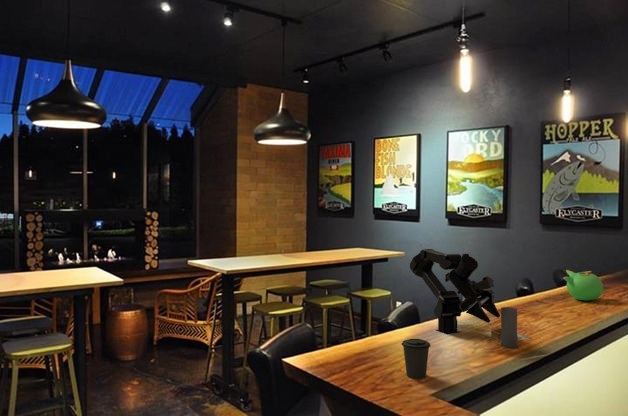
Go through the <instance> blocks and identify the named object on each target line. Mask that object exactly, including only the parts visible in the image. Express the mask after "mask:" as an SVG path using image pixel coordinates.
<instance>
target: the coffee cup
mask: <svg viewBox="0 0 628 416" xmlns="http://www.w3.org/2000/svg"><path fill="white" fill-rule="evenodd" d="M401 346H402V347H403V354H404V364H405V370H406V371H405V372H406V374H405V375H406V377H408V378H409V379H415V380H422V379H425V378H426V377H427V369H428V357H429V350H430V347H431V343H430V342H429V341H427V340H424V339H421V338H409V339H404V340H402V342H401Z"/></svg>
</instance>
